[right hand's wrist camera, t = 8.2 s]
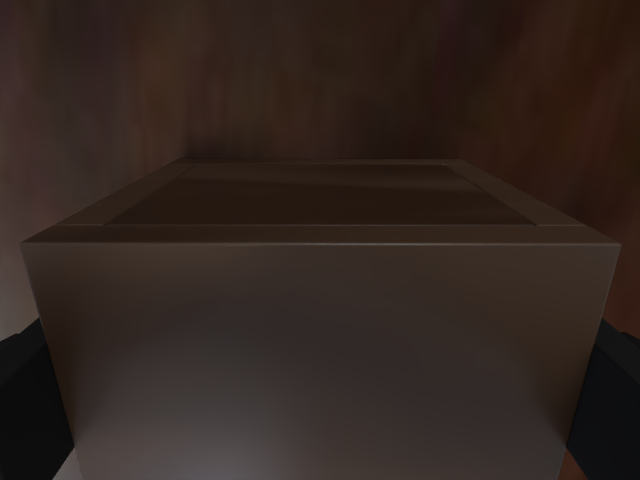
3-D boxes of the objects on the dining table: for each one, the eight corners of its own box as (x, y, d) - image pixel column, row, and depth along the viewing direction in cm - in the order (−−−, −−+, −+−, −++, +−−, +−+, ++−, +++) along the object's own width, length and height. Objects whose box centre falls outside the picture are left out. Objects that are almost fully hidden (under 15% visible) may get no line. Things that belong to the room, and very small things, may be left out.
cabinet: (417, 535, 23) (472, 792, 15) (222, 535, 23) (166, 791, 15) (463, 158, 16) (623, 243, 7) (177, 158, 16) (17, 242, 7)
